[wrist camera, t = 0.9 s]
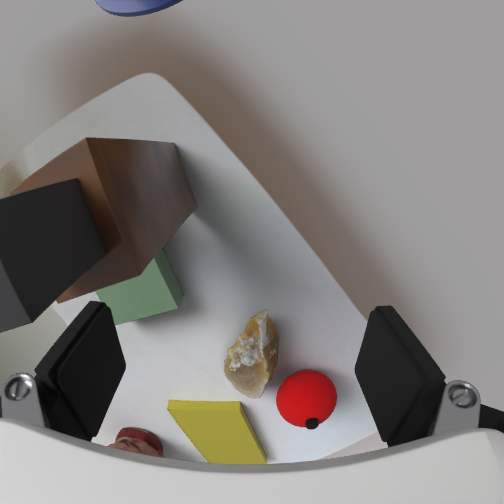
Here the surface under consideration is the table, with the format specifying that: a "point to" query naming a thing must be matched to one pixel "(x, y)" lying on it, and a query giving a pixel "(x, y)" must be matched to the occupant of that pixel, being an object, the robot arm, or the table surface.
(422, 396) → the robot arm
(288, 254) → the table surface
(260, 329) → the stone
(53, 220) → the block
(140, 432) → the face mug
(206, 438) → the flat olive board
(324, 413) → the ornament
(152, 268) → the sage green square slab
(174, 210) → the tall brown wooden block
